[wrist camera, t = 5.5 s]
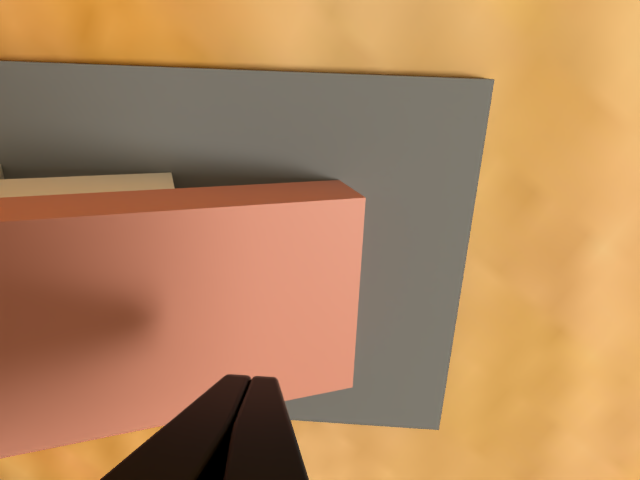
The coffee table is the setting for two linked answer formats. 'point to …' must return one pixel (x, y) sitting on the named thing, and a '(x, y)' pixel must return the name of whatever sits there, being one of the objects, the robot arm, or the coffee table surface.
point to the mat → (293, 166)
